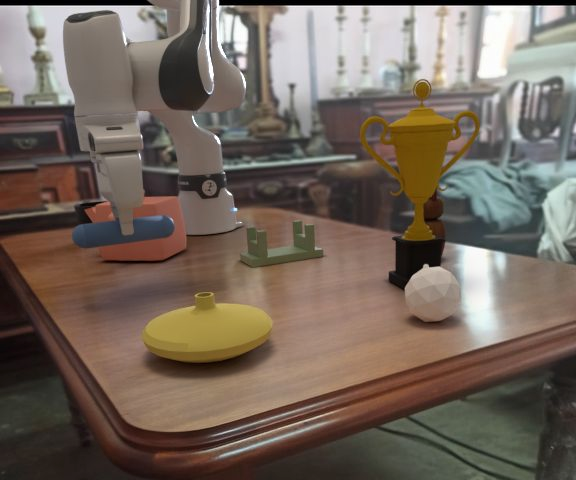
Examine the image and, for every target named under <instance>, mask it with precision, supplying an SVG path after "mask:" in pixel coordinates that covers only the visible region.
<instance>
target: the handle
mask: <svg viewBox="0 0 576 480" xmlns="http://www.w3.org/2000/svg"><path fill="white" fill-rule="evenodd" d="M133 228H134V233H133V234H132V235H123V234H122V233H121V231H120V225H119V220H115V221H106V222H97V223H89V224H81V225H78V224H77V225H76V226H75V227H74V228H73V230H72V232H71V240H72V242H73V243H74V244H75V245H76V247H78V248H81V249H92V248H93V249H94V248H99V247H101V246H109V245H116V244H124V243H132V242H139V241H147V240H155V239H162V238H168V237H170V236H171V235H172V234H173V232H174V230H175V224H174V222H173V220H172V219H171V218H170V217H168V216H166V215H158V216H149V217H140V218H133Z"/></svg>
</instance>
